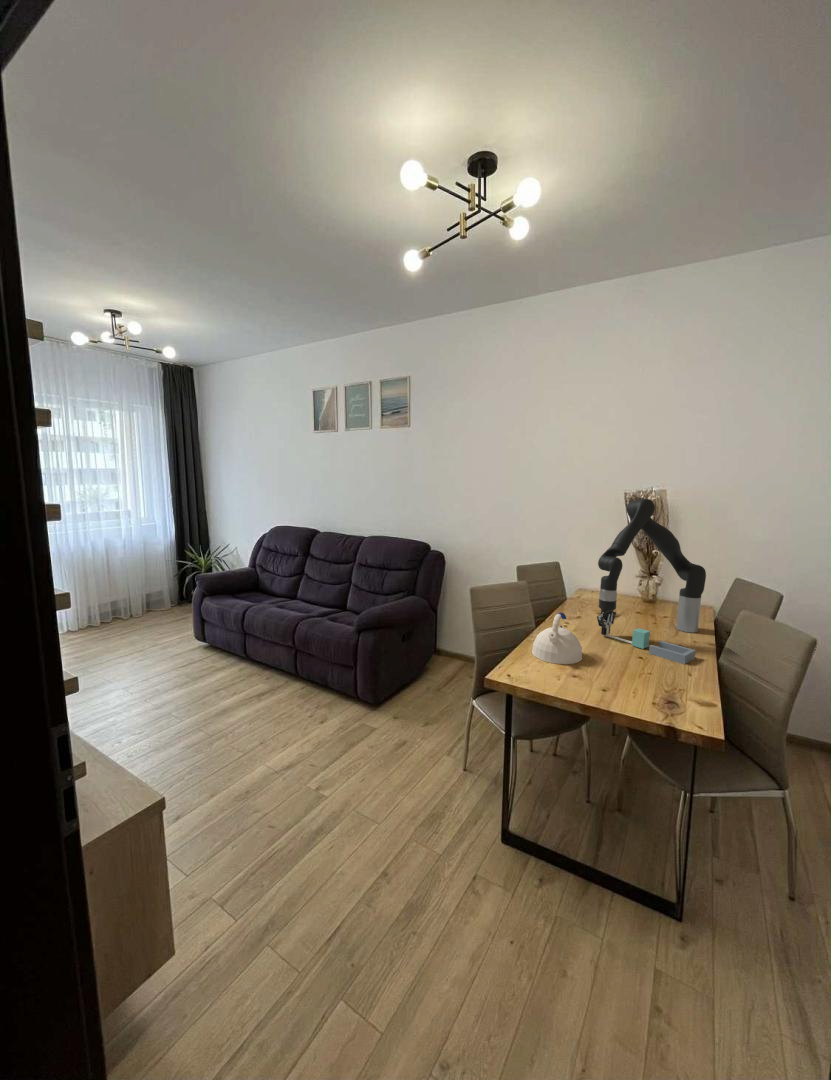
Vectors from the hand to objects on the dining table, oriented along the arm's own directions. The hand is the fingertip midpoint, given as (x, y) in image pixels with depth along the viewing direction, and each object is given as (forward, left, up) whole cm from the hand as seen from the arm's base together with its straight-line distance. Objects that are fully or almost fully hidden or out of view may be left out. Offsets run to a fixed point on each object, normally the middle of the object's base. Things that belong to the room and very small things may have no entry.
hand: (605, 633), depth 211 cm
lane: (0, +30, -1) cm, 30 cm away
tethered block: (0, +9, -1) cm, 9 cm away
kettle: (+38, 0, -2) cm, 38 cm away
